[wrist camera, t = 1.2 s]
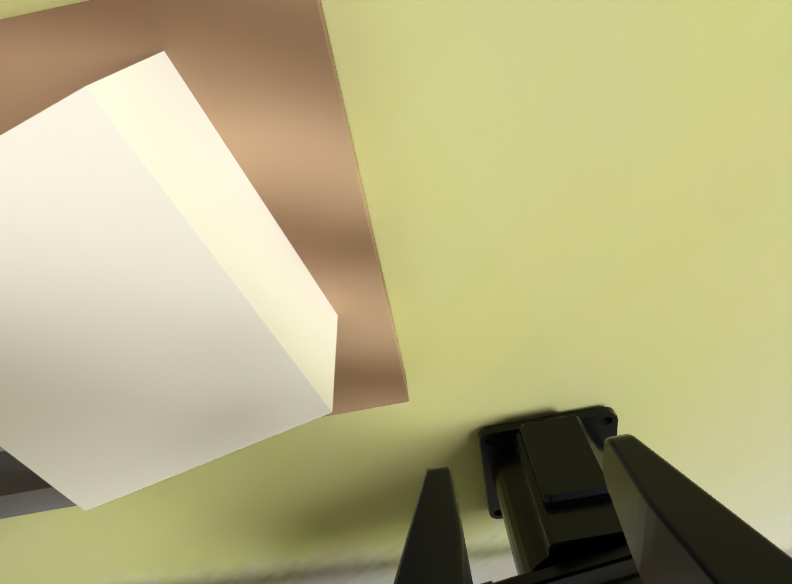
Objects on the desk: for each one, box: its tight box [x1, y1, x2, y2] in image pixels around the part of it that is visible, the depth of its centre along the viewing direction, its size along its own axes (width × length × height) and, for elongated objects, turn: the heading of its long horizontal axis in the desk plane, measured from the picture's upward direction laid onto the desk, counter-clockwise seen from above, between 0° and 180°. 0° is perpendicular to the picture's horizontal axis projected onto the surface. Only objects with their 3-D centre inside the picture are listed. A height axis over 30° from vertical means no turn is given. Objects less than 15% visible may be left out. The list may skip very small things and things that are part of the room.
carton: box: [0, 51, 338, 511], centre depth 16 cm, size 10×9×5 cm
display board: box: [0, 0, 409, 519], centre depth 17 cm, size 16×22×5 cm
